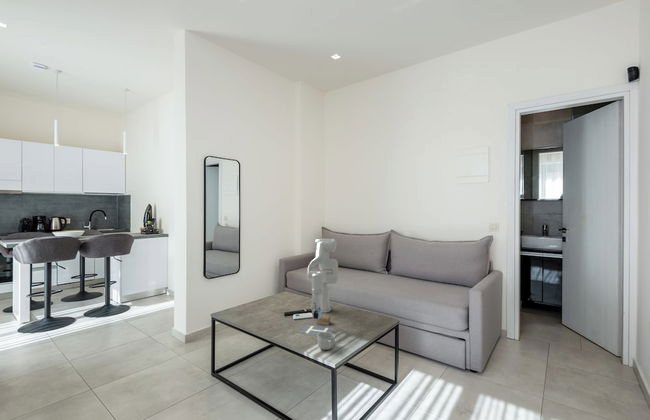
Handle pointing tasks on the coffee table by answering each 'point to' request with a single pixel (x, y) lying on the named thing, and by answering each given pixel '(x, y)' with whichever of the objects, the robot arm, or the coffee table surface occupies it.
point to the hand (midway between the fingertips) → (317, 316)
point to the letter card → (315, 329)
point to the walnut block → (324, 320)
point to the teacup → (326, 340)
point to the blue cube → (319, 313)
